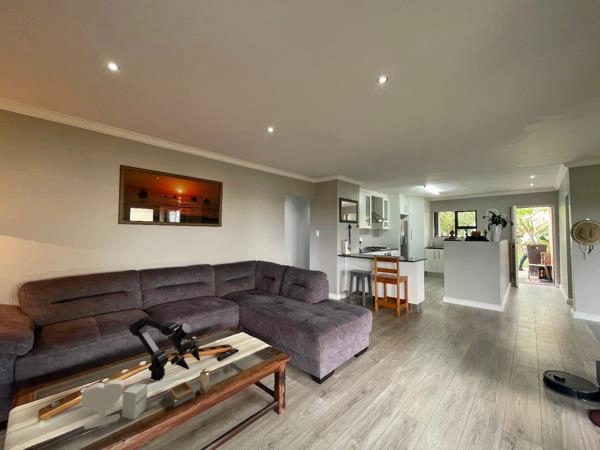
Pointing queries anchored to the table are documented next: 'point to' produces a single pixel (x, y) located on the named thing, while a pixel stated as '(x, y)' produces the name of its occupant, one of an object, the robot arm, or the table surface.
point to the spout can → (204, 380)
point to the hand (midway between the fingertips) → (194, 364)
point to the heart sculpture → (102, 400)
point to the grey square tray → (180, 394)
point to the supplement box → (134, 400)
